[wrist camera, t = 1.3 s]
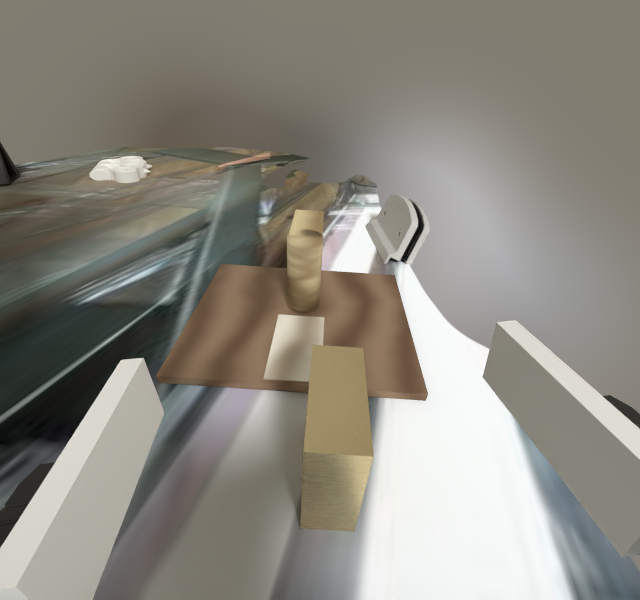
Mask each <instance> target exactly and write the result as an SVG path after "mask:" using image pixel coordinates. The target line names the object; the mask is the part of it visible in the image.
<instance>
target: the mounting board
mask: <svg viewBox="0 0 640 600" xmlns="http://www.w3.org/2000/svg"><path fill="white" fill-rule="evenodd" d="M323 217H324V211H309V210H296V211H295V215H294V218H293V222H292V225H291V229H290V232H289V233H288V234H287V268H274V267H259V266H243V265H228V264H221V266H220V268H219V269H218V271H217V273H216V275H215V276H214V278H213V280H212V281H211V283H210V285H209V287H208V288H207V290H206V292H205V293H204V295H203V297H202V298H201V300H200V302H199V304H198V305H197V307H196V309H195V310H194V312H193V314H192V316H191V317H190V319H189V321H188V322H187V324H186V326H185V327H184V329H183V331H182V333H181V334H180V336H179V338H178V339H177V341H176V343H175V344H174V346H173V348H172V350H171V351H170V353H169V355H168V356H167V358H166V360H165V362H164V363H163V365H162V367H161V368H160V370H159V372H158V373H157V375H156V378H157V381H158V383H170V384H186V385H201V386H216V387H231V388H246V389H261V390H276V391H291V392H306V393H308V391H309V379H310V367H311V356H312V345H325V346H340V347H356V348H363V352H364V363H365V373H366V384H367V394H368V397H382V398H397V399H412V400H426V398H427V395H428V392H427V389H426V385H425V382H424V378H423V375H422V371H421V368H420V364H419V360H418V357H417V353H416V350H415V346H414V343H413V339H412V335H411V332H410V328H409V325H408V321H407V318H406V314H405V311H404V307H403V303H402V300H401V296H400V293H399V289H398V286H397V282H396V279H395V275H383V274H367V273H352V272H336V271H321V266H322V249H323V235H322V234H323Z"/></svg>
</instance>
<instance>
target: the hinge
mask: <svg viewBox="0 0 640 600" xmlns="http://www.w3.org/2000/svg"><path fill="white" fill-rule="evenodd" d="M366 229H367V231H368V233H369V235H370V237H371V239H372V241H373V243H374V245H375V247H376V249H377V251H378V253H379V255H380V257H381V259H382V261H383V263H384V264H387V262H388V261H389V259H390V257H391V258H393V259H395V260H398V261H400V259H401V260H402V259H403V260H404V261H405V263H406V264H410V265H411V264H412V262H413V260H414V258H415V256H416V254H417V253H418V251H419V249H420V247H421V245H422V243H423V241H424V240H425V238H426V236H427V234H428V232H429V223H428V220H427V217H426V215H425V212H424V211H423V209H422V208H421V207H420V206H419V205H418V204H416V203H415V202H414V201H412V200H410V199H407V198H405V197H402V196H397V195H391V196H389V198H388V199H387V201H386V203H385V205H384V206H383V208H382V210H381V211H380V213H379V215H378V216H377V218H376V219H373V220H370V221H369V223H368V225H367V227H366Z"/></svg>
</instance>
